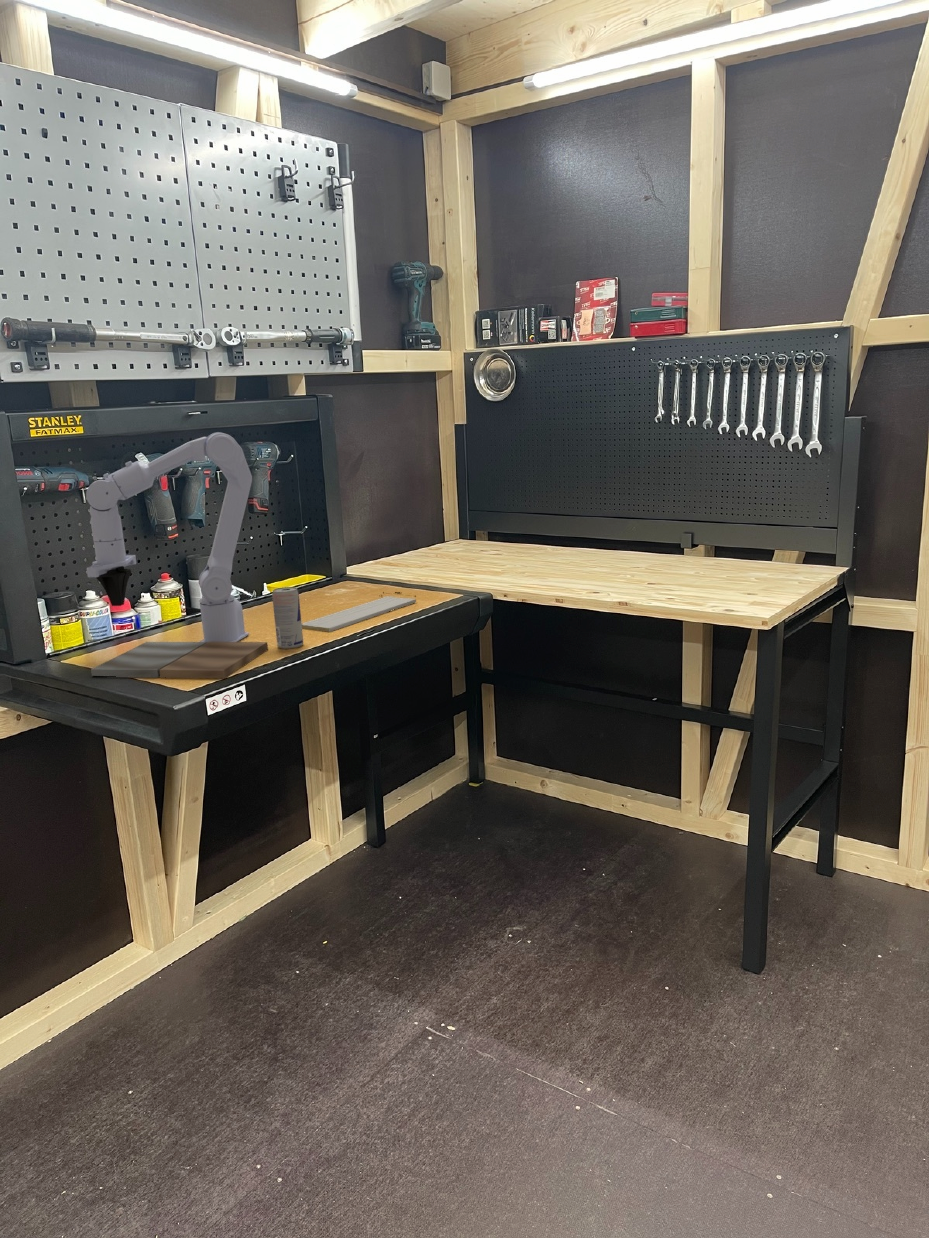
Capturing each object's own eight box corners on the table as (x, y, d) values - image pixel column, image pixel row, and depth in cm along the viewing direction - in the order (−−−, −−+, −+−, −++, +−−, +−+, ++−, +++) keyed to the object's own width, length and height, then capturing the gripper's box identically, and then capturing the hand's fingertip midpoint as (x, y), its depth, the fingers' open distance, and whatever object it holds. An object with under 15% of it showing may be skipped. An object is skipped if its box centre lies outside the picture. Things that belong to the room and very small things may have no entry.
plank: (147, 648, 196) (146, 641, 195) (208, 648, 193) (207, 641, 192) (92, 676, 177) (90, 669, 176) (158, 677, 174) (157, 669, 173)
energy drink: (305, 641, 194) (299, 586, 192) (301, 648, 189) (296, 591, 186) (279, 643, 194) (274, 587, 192) (275, 649, 189) (269, 592, 186)
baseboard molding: (290, 629, 208) (329, 635, 202) (289, 617, 208) (328, 622, 201) (379, 601, 233) (416, 605, 226) (378, 589, 232) (415, 593, 226)
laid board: (210, 649, 192) (209, 641, 192) (268, 649, 190) (267, 642, 189) (160, 677, 174) (159, 669, 173) (224, 678, 171) (223, 670, 170)
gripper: (111, 534, 194) (120, 597, 198) (69, 546, 181) (79, 613, 184) (141, 534, 193) (150, 597, 196) (101, 545, 179) (111, 613, 182)
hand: (118, 605), depth 190 cm, fingers closed
